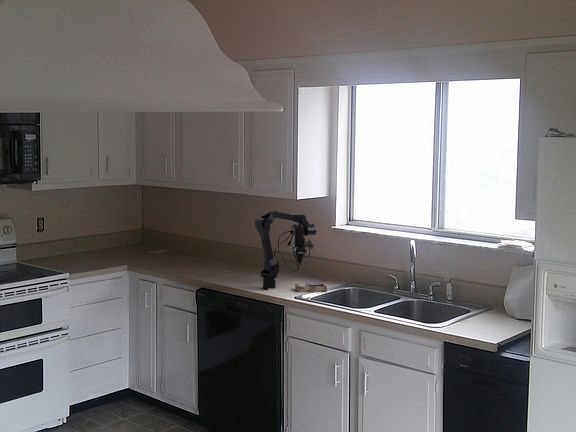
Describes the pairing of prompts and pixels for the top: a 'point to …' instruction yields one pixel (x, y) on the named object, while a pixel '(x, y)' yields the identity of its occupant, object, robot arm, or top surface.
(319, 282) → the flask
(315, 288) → the frame
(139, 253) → the top surface
